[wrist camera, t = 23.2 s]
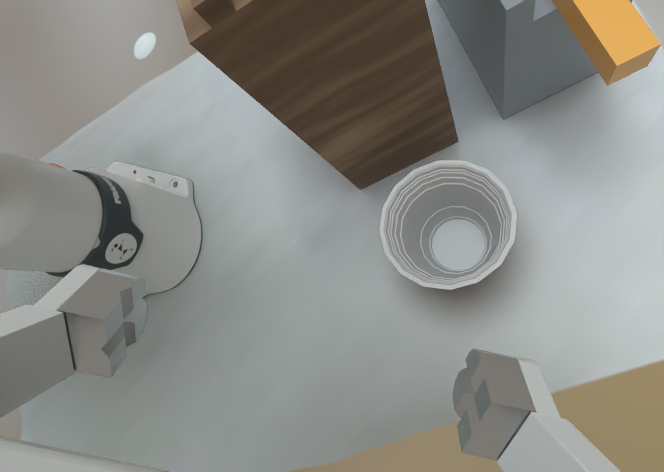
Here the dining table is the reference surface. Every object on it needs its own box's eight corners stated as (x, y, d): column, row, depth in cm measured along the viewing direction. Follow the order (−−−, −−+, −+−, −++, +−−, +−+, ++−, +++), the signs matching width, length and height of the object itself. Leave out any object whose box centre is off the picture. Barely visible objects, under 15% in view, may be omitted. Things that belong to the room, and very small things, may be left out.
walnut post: (458, 141, 47) (392, -134, 18) (360, 189, 50) (168, 25, 21) (408, 42, 50) (287, -315, 21) (320, 93, 54) (113, -158, 25)
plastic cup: (478, 174, 45) (472, 130, 34) (534, 263, 42) (547, 248, 31) (389, 223, 48) (356, 199, 37) (435, 312, 45) (414, 313, 34)
